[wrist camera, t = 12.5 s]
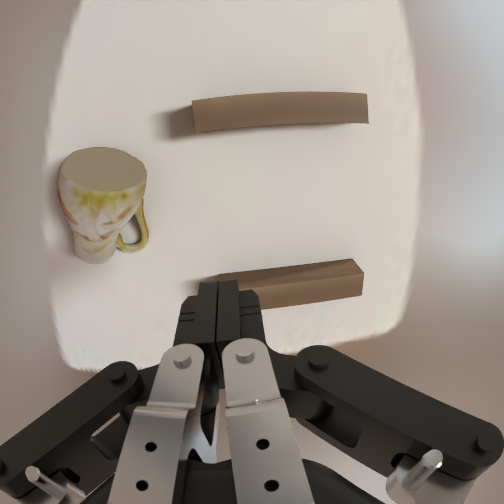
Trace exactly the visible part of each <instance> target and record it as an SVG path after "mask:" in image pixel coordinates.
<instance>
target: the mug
mask: <svg viewBox="0 0 504 504" xmlns="http://www.w3.org/2000/svg"><path fill="white" fill-rule="evenodd" d="M146 178H147V172H146V169H145V167H144V164H143V163H142V162H141V161H140V160H138V159H137V158H135V157H133V156H131V155H129V154H128V153H126V152H124V151H121V150H118V149H114V148H107V147H93V148H86V149H81V150H77V151H75V152H73V153H72V154H70V155H69V156H68V157H67V158H66V159H65V160H64V161H63V162H62V164H61V166H60V170H59V175H58V182H57V192H58V197H59V201H60V204H61V207H62V209H63V211H64V213H65V216H66V218H67V220H68V222H69V224H70V226H71V228H72V231H73V237H74V252H75V254H76V255H77V256H78V257H79V258H80V259H81V260H83V261H85V262H87V263H90V264H100V263H103V262H105V261H107V260H109V259H110V258H111V257H112V256H113V253H114V251H115V248H116V247H118V248H120V249H121V250H122V251H123V252H126V253H134V252H137V251H140V250H142V249H143V248H144V247H145V245H146V244H147V242H148V228H147V225H146V222H145V218H144V213H143V196H144V192H145V187H146ZM134 214H135V216H136V219H137V221H138V224H139V226H140V230H141V239H140V241H139V242H138V243H136V244H125V243H124V242H123V241H122V236H121V235H120V231H121V230H122V229H123V227H124V226H125V225H126V223H127V222H128V221H129V220H130V219H131V217H132V216H133V215H134Z"/></svg>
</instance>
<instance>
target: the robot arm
mask: <svg viewBox="0 0 504 504" xmlns="http://www.w3.org/2000/svg"><path fill="white" fill-rule="evenodd" d="M219 389H226V398H227V407H226V420H227V429H228V437H229V445H230V453H231V459H230V460H226V461H222V462H219V463H217V458H216V441H217V430H218V419H219V409H220V405H219ZM117 413H119V414H120V416H119V417H118V418H117V419H116V420H114V421H113V422H112V423H111V424H109V425H108V426H107V427H106V428H105V429H103V430H102V431H101V432H100V433H99V434H97V435H95V436H93V437H91V436H92V434H93V433H94V432H95V431H96V430H98V429H99V428H100V427H101V426H102V425H104V424H105V423H106V422H107V421H109V420H110V419H111V418H112V417H113V416H115V415H116V414H117ZM290 417H292V418H296V420H297V421H298V422H299V423H300V424H301V425H303V426H304V427H305V428H307V429H308V430H310V431H311V432H313V433H314V434H316V435H317V436H319V437H320V438H322V439H323V440H325V441H326V442H328V443H329V444H331V445H333V446H334V447H336V448H337V449H339V450H341V451H342V452H344V453H345V454H347V455H349V456H350V457H352V458H354V459H355V460H357V461H359V462H360V463H362V464H364V465H365V466H367V467H369V468H371V469H372V470H374V471H376V472H378V473H380V474H381V475H383V476H385V477H387V481H386V491H387V494H388V495H389V497H390V498H391V499H392V500H393V501H395V502H396V503H397V504H463V503H464V501H465V499H466V497H467V495H468V493H469V491H470V490H471V488H472V486H473V483H474V481H475V480H476V478H477V477H478V476H479V475H481V474H482V473H483V472H484V471H486V470H487V469H488V468H489V467H490V466H491V465H493V464H494V463H495V462H496V461H497V460H498V459H499V458H500V456H501V454H502V452H503V448H504V439H503V435H502V433H501V431H500V430H499V429H498V428H497V427H496V426H495V425H493V424H491V423H489V422H486V421H484V420H482V419H479V418H477V417H474V416H472V415H470V414H467V413H465V412H463V411H461V410H458V409H456V408H454V407H451V406H449V405H447V404H445V403H443V402H441V401H438V400H436V399H434V398H432V397H430V396H427V395H425V394H423V393H421V392H419V391H417V390H415V389H413V388H411V387H408V386H406V385H404V384H402V383H400V382H398V381H396V380H394V379H392V378H390V377H388V376H386V375H384V374H382V373H380V372H378V371H376V370H373V369H372V368H370V367H368V366H365V365H364V364H362V363H360V362H358V361H356V360H354V359H352V358H350V357H348V356H346V355H344V354H342V353H341V352H339V351H337V350H335V349H333V348H331V347H328V346H323V345H314V346H309V347H307V348H305V349H303V350H301V351H300V352H299V353H298V354H297V356H292V355H284V354H280V353H277V352H275V351H273V350H272V349H271V348H270V347H269V346H268V345H267V343H266V340H265V334H264V327H263V321H262V314H261V308H260V302H259V296H258V295H257V294H256V293H255V292H254V291H253V290H252V289H251V290H242V291H240V290H239V284H238V279H229V280H220V281H212V282H203V283H200V285H199V291H198V295H197V296H188V298H187V299H186V300H185V301H184V302H183V304H182V305H181V310H180V315H179V319H178V324H177V329H176V334H175V339H174V344H173V347H172V348H170V349H168V350H167V351H166V352H165V353H164V355H163V356H162V358H161V361H160V364H158V365H155V366H152V367H149V368H145V369H142V370H137V368H136V366H135V365H134V364H132V363H130V362H127V361H119V362H115V363H112V364H110V365H109V366H107V367H106V368H104V369H103V370H102V371H100V372H99V373H98V374H96V375H95V376H94V377H92V378H91V379H90V380H88V381H87V382H86V383H84V384H83V385H82V386H80V387H79V388H78V389H76V390H75V391H74V392H72V393H71V394H70V395H68V396H67V397H66V398H64V399H63V400H62V401H60V402H59V403H58V404H56V405H55V406H54V407H52V408H51V409H50V410H48V411H47V412H46V413H44V414H43V415H42V416H40V417H39V418H37V419H36V420H35V421H33V422H32V423H31V424H29V425H28V426H27V427H25V428H24V429H23V430H21V431H20V432H19V433H17V434H16V435H15V436H14V437H12V438H11V439H9V440H8V441H6V442H5V443H4V444H2V445H1V446H0V489H1V490H2V491H4V492H5V493H6V494H7V495H8V496H10V497H11V498H12V500H13V502H14V503H15V504H385V503H383V502H381V501H380V500H378V499H377V498H375V497H373V496H372V495H370V494H368V493H367V492H365V491H364V490H362V489H360V488H359V487H357V486H356V485H354V484H353V483H351V482H349V481H348V480H347V479H345V478H344V477H342V476H341V475H339V474H338V473H336V472H335V471H333V470H332V469H330V468H328V467H326V466H324V465H322V464H320V463H317V462H314V461H311V460H306V459H301V455H300V452H299V449H298V445H297V442H296V438H295V435H294V431H293V428H292V424H291V421H290ZM114 472H116V473H115V474H113V473H114ZM112 474H113V475H112ZM111 475H112V476H111ZM110 476H111V477H110ZM107 478H108V479H107ZM106 479H107V480H106ZM105 480H106V481H105ZM104 481H105V482H104ZM103 482H104V483H103ZM101 483H103V484H101ZM100 484H101V485H100ZM99 485H100V486H99ZM98 486H99V487H98ZM96 487H98V488H97V489H96V490H95V491H93V490H94V489H95V488H96ZM91 491H93V492H92V493H91V494H90V495H89V496H88V497H86V498H85V496H86V495H88V494H89V493H90V492H91Z"/></svg>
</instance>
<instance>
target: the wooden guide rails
mask: <svg viewBox="0 0 504 504" xmlns="http://www.w3.org/2000/svg"><path fill="white" fill-rule="evenodd" d="M192 108H193V117H194V126H195V133H198V132H205V131H213V130H221V129H230V128H240V127H250V126H263V125H278V124H298V123H369V122H368V104H367V94H363V93H345V92H277V93H259V94H245V95H234V96H225V97H216V98H208V99H201V100H194V101H192ZM229 279H238V284H239V290H240V291H242V290H251V289H252V290H253V291H254V292H255V293H256V294H257V295H258V296H259V302H260V308H261V310H263V309H272V308H280V307H287V306H295V305H302V304H309V303H316V302H323V301H330V300H336V299H342V298H349V297H355V296H361V295H362V288H363V279H364V272H363V271H362V270H361V269H360V267H359V266H358V265H357V264H356V262H355V261H354V260H353V259H345V260H338V261H330V262H322V263H314V264H305V265H297V266H289V267H280V268H272V269H263V270H254V271H245V272H236V273H227V274H219V281H220V280H229Z"/></svg>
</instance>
